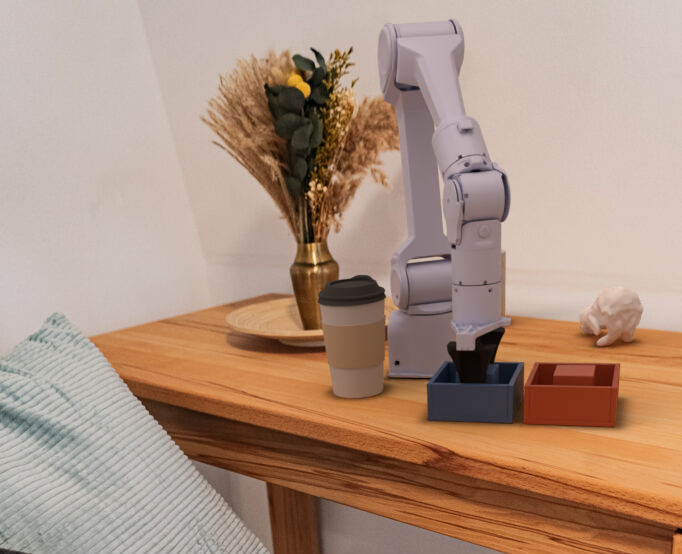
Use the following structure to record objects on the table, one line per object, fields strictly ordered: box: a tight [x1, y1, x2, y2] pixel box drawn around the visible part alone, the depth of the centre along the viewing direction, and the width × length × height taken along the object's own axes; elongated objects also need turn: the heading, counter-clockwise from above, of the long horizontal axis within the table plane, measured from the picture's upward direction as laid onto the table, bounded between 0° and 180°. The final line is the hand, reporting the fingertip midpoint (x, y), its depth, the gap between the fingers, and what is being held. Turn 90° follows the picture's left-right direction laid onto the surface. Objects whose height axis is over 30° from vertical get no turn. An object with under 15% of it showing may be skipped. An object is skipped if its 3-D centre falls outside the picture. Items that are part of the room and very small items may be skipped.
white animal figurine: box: [578, 285, 644, 347], centre depth 129 cm, size 6×8×12 cm
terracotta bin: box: [523, 361, 621, 428], centre depth 100 cm, size 10×10×5 cm
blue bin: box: [426, 361, 525, 424], centre depth 104 cm, size 10×10×5 cm
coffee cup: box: [317, 274, 387, 399], centre depth 112 cm, size 9×9×15 cm
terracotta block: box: [553, 365, 596, 386], centre depth 100 cm, size 4×4×4 cm
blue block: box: [456, 364, 499, 384], centre depth 104 cm, size 4×4×4 cm
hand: (477, 393), depth 104 cm, fingers closed on blue block, 4 cm apart
